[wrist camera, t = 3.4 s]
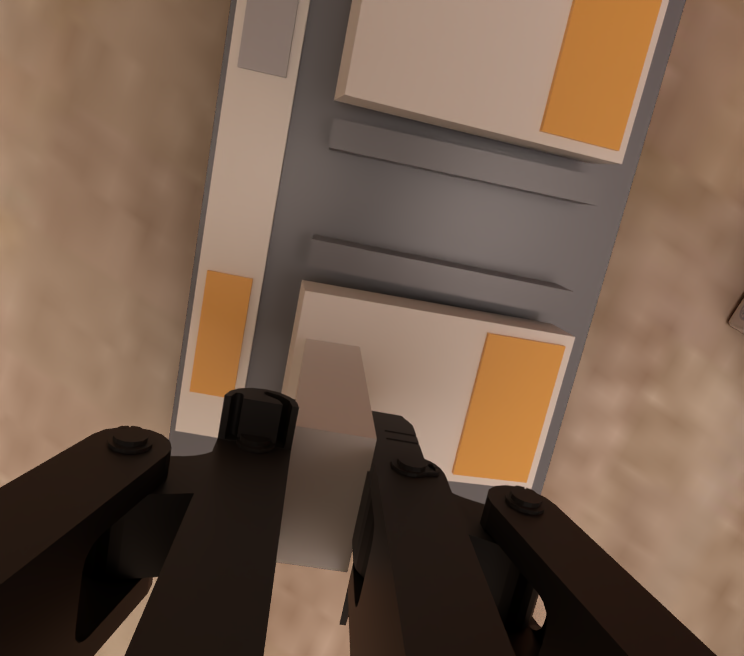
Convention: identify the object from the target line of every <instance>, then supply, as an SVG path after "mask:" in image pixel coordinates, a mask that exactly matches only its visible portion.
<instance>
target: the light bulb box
mask: <svg viewBox="0 0 744 656" xmlns="http://www.w3.org/2000/svg"><path fill="white" fill-rule="evenodd" d="M729 325H730V326H731V327H733V328H735V329H737V330H738V331H740V332H742V333H744V298H743V300H742V301H741V303H740V304H739V306H738V307H737V309H736V311H735V312H734V314H733V315H732V317H731V318H730V320H729Z"/></svg>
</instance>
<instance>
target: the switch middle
mask: <svg viewBox="0 0 744 656" xmlns="http://www.w3.org/2000/svg"><path fill="white" fill-rule="evenodd" d="M668 3H669V0H352V4H351V9H350V15H349V20H348V26H347V31H346V37H345V42H344V48H343V53H342V59H341V64H340V70H339V75H338V81H337V86H336V92H335V97H334V100H335V101H339V102H343V103H347V104H351V105H355V106H359V107H363V108H367V109H371V110H375V111H379V112H384V113H388V114H392V115H396V116H400V117H404V118H408V119H412V120H416V121H420V122H424V123H428V124H432V125H436V126H440V127H444V128H448V129H452V130H456V131H460V132H464V133H468V134H472V135H477V136H481V137H485V138H489V139H493V140H497V141H501V142H505V143H509V144H513V145H517V146H521V147H525V148H529V149H533V150H537V151H541V152H545V153H549V154H553V155H557V156H561V157H565V158H570V159H574V160H578V161H582V162H586V163H590V164H622V162H623V159H624V155H625V152H626V148H627V145H628V141H629V138H630V134H631V131H632V127H633V124H634V121H635V117H636V114H637V110H638V107H639V103H640V100H641V96H642V93H643V89H644V86H645V82H646V79H647V75H648V72H649V69H650V65H651V62H652V58H653V55H654V51H655V48H656V44H657V41H658V37H659V34H660V30H661V27H662V23H663V20H664V17H665V13H666V10H667V6H668Z"/></svg>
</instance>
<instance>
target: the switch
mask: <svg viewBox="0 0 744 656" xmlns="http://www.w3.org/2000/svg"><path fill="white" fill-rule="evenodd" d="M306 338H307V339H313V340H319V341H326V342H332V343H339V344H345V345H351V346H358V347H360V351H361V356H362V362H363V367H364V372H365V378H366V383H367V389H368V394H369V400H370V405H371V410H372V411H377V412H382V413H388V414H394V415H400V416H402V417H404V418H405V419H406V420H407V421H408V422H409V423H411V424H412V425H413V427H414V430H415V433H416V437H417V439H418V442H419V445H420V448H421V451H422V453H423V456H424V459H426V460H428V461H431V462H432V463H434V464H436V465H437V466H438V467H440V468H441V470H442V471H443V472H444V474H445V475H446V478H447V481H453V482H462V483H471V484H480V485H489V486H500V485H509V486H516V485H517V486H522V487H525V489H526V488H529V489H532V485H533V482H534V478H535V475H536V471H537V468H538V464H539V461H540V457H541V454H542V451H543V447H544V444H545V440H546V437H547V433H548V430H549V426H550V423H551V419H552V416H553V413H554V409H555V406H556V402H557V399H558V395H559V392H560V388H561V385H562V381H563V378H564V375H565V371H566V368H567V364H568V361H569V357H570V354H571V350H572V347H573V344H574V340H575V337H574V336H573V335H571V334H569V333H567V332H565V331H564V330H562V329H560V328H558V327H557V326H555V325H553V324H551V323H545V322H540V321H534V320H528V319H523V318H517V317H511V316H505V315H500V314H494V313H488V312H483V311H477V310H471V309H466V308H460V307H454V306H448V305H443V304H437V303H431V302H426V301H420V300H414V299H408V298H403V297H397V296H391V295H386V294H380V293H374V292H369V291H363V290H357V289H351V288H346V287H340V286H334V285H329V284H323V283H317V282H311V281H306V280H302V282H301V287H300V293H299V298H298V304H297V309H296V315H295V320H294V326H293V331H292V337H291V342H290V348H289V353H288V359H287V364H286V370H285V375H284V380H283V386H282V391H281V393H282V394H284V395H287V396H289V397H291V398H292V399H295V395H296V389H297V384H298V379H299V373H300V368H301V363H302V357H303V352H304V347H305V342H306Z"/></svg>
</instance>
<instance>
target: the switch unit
mask: <svg viewBox="0 0 744 656" xmlns="http://www.w3.org/2000/svg"><path fill="white" fill-rule="evenodd" d="M685 2H686V0H669V3H668V6H667V10H666V13H665V17H664V20H663V23H662V27H661V30H660V34H659V37H658V41H657V44H656V48H655V51H654V55H653V58H652V62H651V65H650V69H649V72H648V75H647V79H646V82H645V86H644V89H643V93H642V96H641V100H640V103H639V107H638V110H637V114H636V117H635V121H634V124H633V127H632V131H631V134H630V138H629V141H628V145H627V148H626V152H625V155H624V159H623V162H622V164H590V163H586V162H582V161H578V160H574V159H570V158H565V157H561V156H557V155H553V154H549V153H545V152H541V151H537V150H533V149H529V148H525V147H521V146H517V145H513V144H509V143H505V142H501V141H497V140H493V139H489V138H485V137H481V136H477V135H472V134H468V133H464V132H460V131H456V130H452V129H448V128H444V127H440V126H436V125H432V124H428V123H424V122H420V121H416V120H412V119H408V118H404V117H400V116H396V115H392V114H388V113H384V112H379V111H375V110H371V109H367V108H363V107H359V106H355V105H351V104H347V103H343V102H339V101H335V100H334V97H335V92H336V86H337V81H338V75H339V70H340V64H341V59H342V53H343V48H344V42H345V37H346V31H347V26H348V20H349V15H350V9H351V4H352V0H231V5H230V12H229V19H228V26H227V33H226V40H225V47H224V54H223V61H222V68H221V75H220V82H219V89H218V96H217V103H216V111H215V118H214V125H213V132H212V139H211V146H210V153H209V160H208V167H207V174H206V181H205V188H204V195H203V202H202V209H201V216H200V223H199V230H198V237H197V244H196V251H195V258H194V266H193V273H192V280H191V287H190V294H189V301H188V308H187V315H186V322H185V329H184V336H183V343H182V350H181V357H180V364H179V371H178V378H177V385H176V392H175V399H174V406H173V414H172V421H171V428H170V435H169V441H170V443H171V447H172V449H171V456H194V455H201V454H206V453H209V452H212V450H213V448H214V445H215V443H216V441H217V438H218V432H219V426H220V420H221V414H222V408H223V401H224V395H225V394H226V393H228V392H229V391H231V390H235V389H238V388H260V389H267V390H271V391H276V392H279V393H281V391H282V386H283V380H284V375H285V370H286V364H287V359H288V353H289V348H290V342H291V337H292V331H293V326H294V320H295V315H296V309H297V304H298V298H299V293H300V287H301V282H302V280H306V281H311V282H317V283H323V284H329V285H334V286H340V287H346V288H351V289H357V290H363V291H369V292H374V293H380V294H386V295H391V296H397V297H403V298H408V299H414V300H420V301H426V302H431V303H437V304H443V305H448V306H454V307H460V308H466V309H471V310H477V311H483V312H488V313H494V314H500V315H505V316H511V317H517V318H523V319H528V320H534V321H540V322H545V323H551V324H553V325H555V326H557V327H558V328H560V329H562V330H564V331H565V332H567V333H569V334H571V335H573V336H574V337H575V340H574V344H573V347H572V350H571V354H570V357H569V361H568V364H567V368H566V371H565V375H564V378H563V381H562V385H561V388H560V392H559V395H558V399H557V402H556V406H555V409H554V413H553V416H552V419H551V423H550V426H549V430H548V433H547V437H546V440H545V444H544V447H543V451H542V454H541V457H540V461H539V464H538V468H537V471H536V475H535V478H534V482H533V485H532V490H534V491H535V492H536V493H537V494H539V495H541V491H542V488H543V485H544V481H545V478H546V474H547V471H548V468H549V464H550V461H551V457H552V454H553V451H554V447H555V444H556V440H557V437H558V434H559V430H560V427H561V423H562V420H563V417H564V413H565V410H566V406H567V403H568V400H569V396H570V393H571V389H572V386H573V383H574V379H575V376H576V372H577V369H578V366H579V362H580V359H581V355H582V352H583V349H584V345H585V342H586V338H587V335H588V332H589V328H590V325H591V321H592V318H593V315H594V311H595V308H596V304H597V301H598V298H599V294H600V291H601V287H602V284H603V281H604V277H605V274H606V270H607V267H608V264H609V260H610V257H611V253H612V250H613V247H614V243H615V240H616V236H617V233H618V230H619V226H620V223H621V219H622V216H623V212H624V209H625V206H626V202H627V199H628V195H629V192H630V189H631V185H632V182H633V178H634V175H635V172H636V168H637V165H638V161H639V158H640V155H641V151H642V148H643V144H644V141H645V138H646V134H647V131H648V127H649V124H650V121H651V117H652V114H653V110H654V107H655V104H656V100H657V97H658V93H659V90H660V87H661V83H662V80H663V76H664V73H665V70H666V66H667V63H668V59H669V56H670V53H671V49H672V46H673V42H674V39H675V36H676V32H677V29H678V25H679V22H680V19H681V15H682V12H683V8H684V5H685ZM448 483H449V486H450V488H451V491H452V493H454V494H456V495H458V496H461V497H464V498H467V499H470V500H473V501H476V502H479V503H482V504H485V501H486V498H487V494H488V490H489V489H490V488H492V487H494V486H489V485H480V484H471V483H462V482H453V481H448Z"/></svg>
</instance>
